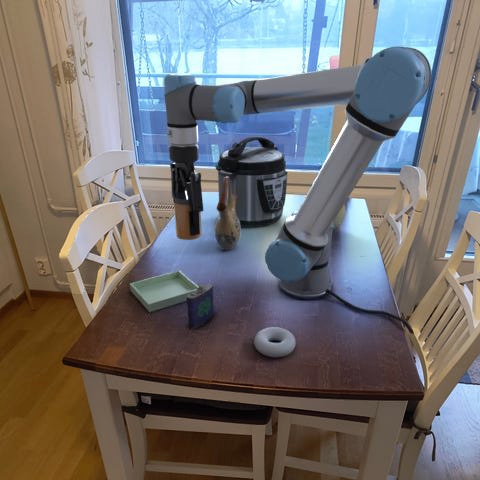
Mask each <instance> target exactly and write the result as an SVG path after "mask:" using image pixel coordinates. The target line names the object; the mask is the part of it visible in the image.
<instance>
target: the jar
mask: <svg viewBox="0 0 480 480" xmlns="http://www.w3.org/2000/svg"><path fill="white" fill-rule="evenodd" d="M172 202H173V210H174V222H175V224H174V225H175V235H176V238H177V239H179V240H183V241H193V240H197V239H199V238H201V237H202V215H201V213H202V211H201V212H199V224H200V234H198V235H193V236H191V235H190V226H189V213H188V211H190V207H189V200H188V198H187V193H186V190H185V192H179V193H174V194H173V199H172Z"/></svg>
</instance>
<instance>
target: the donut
mask: <svg viewBox="0 0 480 480" xmlns="http://www.w3.org/2000/svg"><path fill="white" fill-rule="evenodd" d="M253 340H254V341H253V344H254V348H255V349H256V350H257V352H258V353H260V354H262V355H264V356H265V357H269V358H283V357H286V356H287V355H290V354H291V353H292V352H293V351H294V349H295V347H296V338H295V336H294V334H293V333H292V332H290V331H289V330H287V329H285V328H282V327H279V326H278V327H277V326H271V327H266V328H263V329H261V330H259V331H258V332H257V333H256V334H255V336H254V339H253ZM273 341H275V342H273Z"/></svg>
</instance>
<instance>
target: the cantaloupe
mask: <svg viewBox="0 0 480 480" xmlns="http://www.w3.org/2000/svg"><path fill="white" fill-rule="evenodd" d="M345 204H346V203H345ZM345 204H344V205H343V207H342V209H341V210H340V212H339V213H338V215H337V217H336V218H335V220H334V221H333V226H334V228H333V231H334V230H337V228H339V227H340V226H342V224H343V223H344V220H345V217H346V212H347V211H346V210H347V209H346V205H345Z"/></svg>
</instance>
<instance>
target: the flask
mask: <svg viewBox="0 0 480 480" xmlns="http://www.w3.org/2000/svg"><path fill="white" fill-rule="evenodd" d="M197 286H198V287H199V288H198V289H197V291H195V292H193V293H190V294H188V295H187V297H186V300H187V301H186V307H187V308H186V309H187V318H188V328H190V329H196V328H199V327H201V326H203V325H204V324H205V323H207V322H208V321H210V320H211V319H212V318H213V317H214V315H215V305H214V286H213V285H212V284H211V283H206V284H204V285H202V284H201V283H198V284H197Z"/></svg>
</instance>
